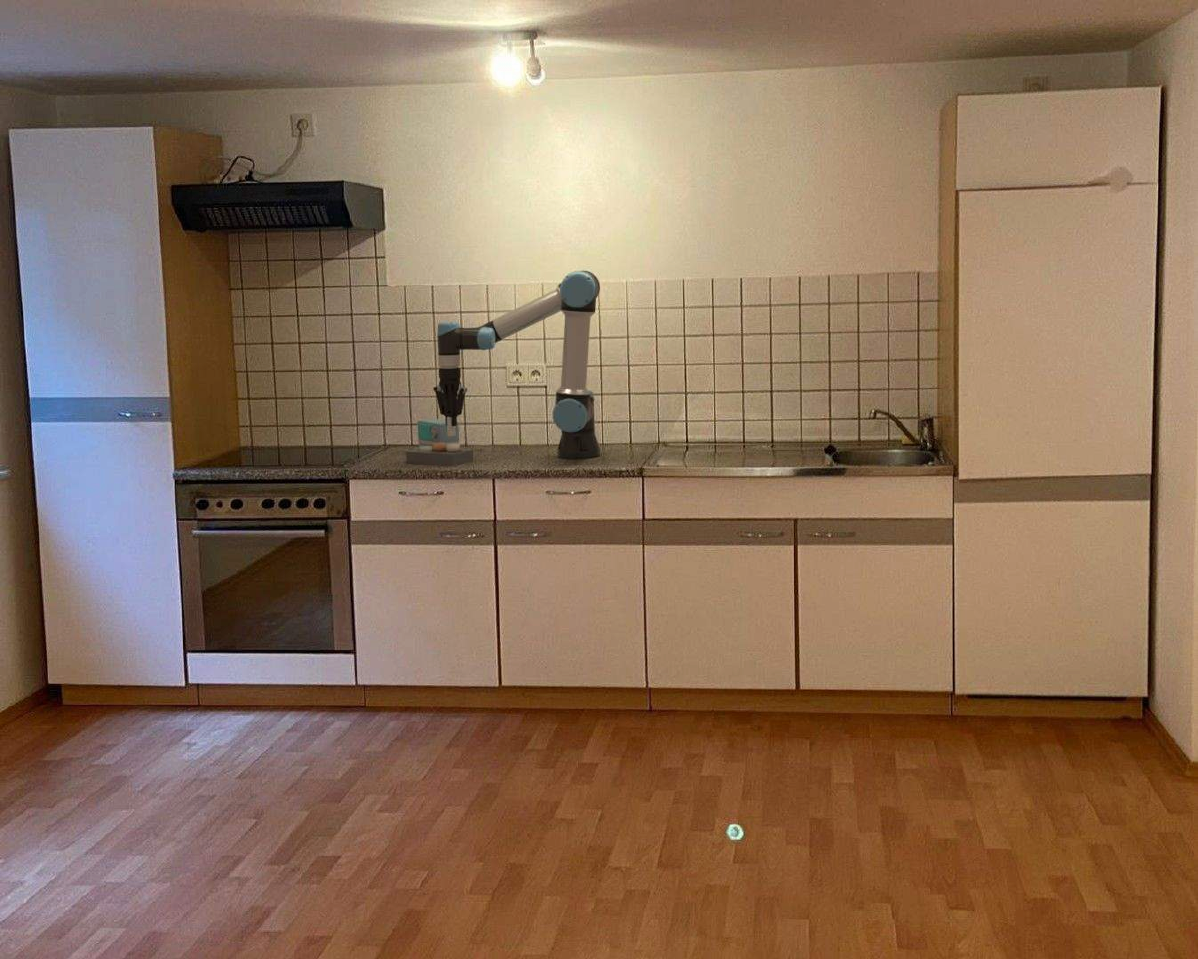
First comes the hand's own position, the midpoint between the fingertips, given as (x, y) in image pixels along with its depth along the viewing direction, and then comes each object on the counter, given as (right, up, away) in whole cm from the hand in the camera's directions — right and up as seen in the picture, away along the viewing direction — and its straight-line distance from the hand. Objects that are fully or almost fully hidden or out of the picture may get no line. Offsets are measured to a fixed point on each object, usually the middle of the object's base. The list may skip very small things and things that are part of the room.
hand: (451, 435), depth 507 cm
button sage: (-10, -6, +7) cm, 14 cm away
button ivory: (+1, -6, +1) cm, 6 cm away
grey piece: (-4, -9, +5) cm, 11 cm away
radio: (-7, -6, +25) cm, 27 cm away
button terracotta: (-5, -5, +4) cm, 8 cm away
